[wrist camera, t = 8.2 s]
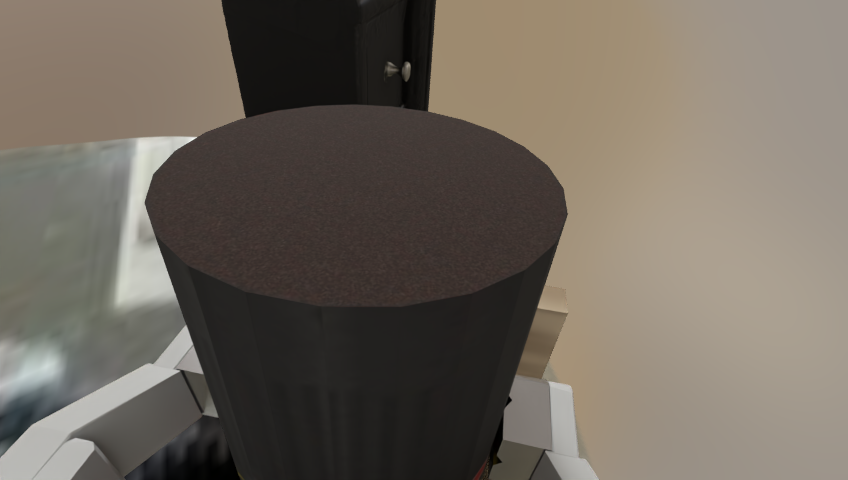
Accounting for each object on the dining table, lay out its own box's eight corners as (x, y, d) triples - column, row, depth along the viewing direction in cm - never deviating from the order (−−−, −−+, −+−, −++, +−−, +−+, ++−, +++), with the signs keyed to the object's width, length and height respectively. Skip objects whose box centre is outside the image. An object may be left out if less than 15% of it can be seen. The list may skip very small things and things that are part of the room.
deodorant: (306, 460, 18) (250, 92, 9) (450, 474, 18) (533, 120, 9) (252, 657, 13) (13, 276, 4) (450, 677, 13) (627, 335, 4)
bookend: (331, 404, 27) (273, -21, 13) (183, 361, 29) (-20, -56, 14) (423, 207, 45) (443, -64, 31) (328, 188, 47) (303, -78, 32)
